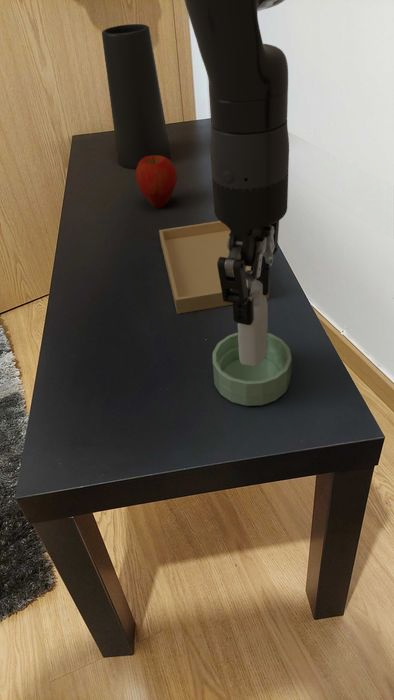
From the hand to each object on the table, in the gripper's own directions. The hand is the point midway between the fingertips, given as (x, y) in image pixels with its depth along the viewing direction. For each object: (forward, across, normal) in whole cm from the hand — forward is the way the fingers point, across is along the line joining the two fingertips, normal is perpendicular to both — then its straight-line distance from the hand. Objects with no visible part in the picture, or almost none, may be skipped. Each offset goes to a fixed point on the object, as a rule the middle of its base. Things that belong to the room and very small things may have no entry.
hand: (252, 306), depth 61 cm
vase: (+12, +67, +52) cm, 86 cm away
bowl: (+13, 0, 0) cm, 13 cm away
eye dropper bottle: (+8, 0, 0) cm, 8 cm away
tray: (+12, +24, +16) cm, 32 cm away
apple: (+12, +44, +36) cm, 58 cm away
